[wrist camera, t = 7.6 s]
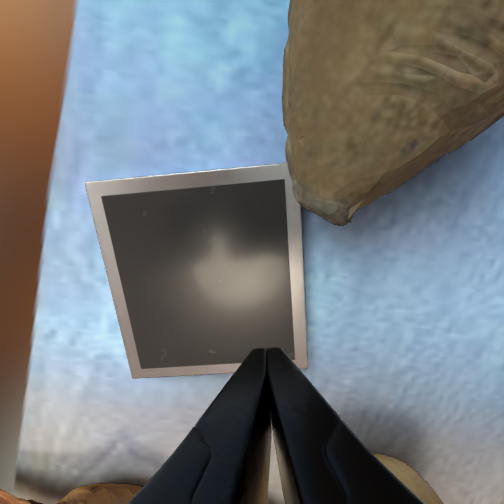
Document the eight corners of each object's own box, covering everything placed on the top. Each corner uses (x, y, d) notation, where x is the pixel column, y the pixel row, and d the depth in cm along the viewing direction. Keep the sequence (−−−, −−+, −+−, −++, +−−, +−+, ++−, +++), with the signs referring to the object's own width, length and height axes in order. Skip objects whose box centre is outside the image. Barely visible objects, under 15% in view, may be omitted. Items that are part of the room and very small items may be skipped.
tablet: (306, 358, 17) (308, 370, 16) (138, 368, 18) (131, 380, 17) (296, 161, 14) (299, 161, 13) (94, 181, 15) (82, 182, 14)
